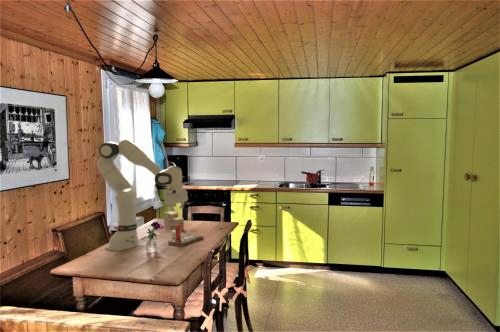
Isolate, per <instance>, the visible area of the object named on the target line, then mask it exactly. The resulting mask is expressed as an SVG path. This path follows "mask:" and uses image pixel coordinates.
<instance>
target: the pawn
mask: <svg viewBox="0 0 500 332" xmlns="http://www.w3.org/2000/svg"><path fill="white" fill-rule="evenodd" d="M180 229H181V227H180V225H176V226H175V234H176V238H174V239H175V242H181V239H180Z"/></svg>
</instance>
